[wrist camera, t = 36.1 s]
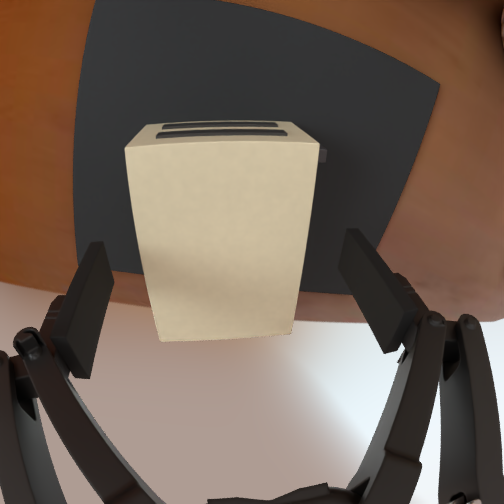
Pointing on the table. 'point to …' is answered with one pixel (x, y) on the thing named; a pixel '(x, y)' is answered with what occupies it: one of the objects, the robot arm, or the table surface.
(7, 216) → the table surface
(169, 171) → the toaster
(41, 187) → the table surface
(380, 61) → the mat
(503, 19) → the vase
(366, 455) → the robot arm
